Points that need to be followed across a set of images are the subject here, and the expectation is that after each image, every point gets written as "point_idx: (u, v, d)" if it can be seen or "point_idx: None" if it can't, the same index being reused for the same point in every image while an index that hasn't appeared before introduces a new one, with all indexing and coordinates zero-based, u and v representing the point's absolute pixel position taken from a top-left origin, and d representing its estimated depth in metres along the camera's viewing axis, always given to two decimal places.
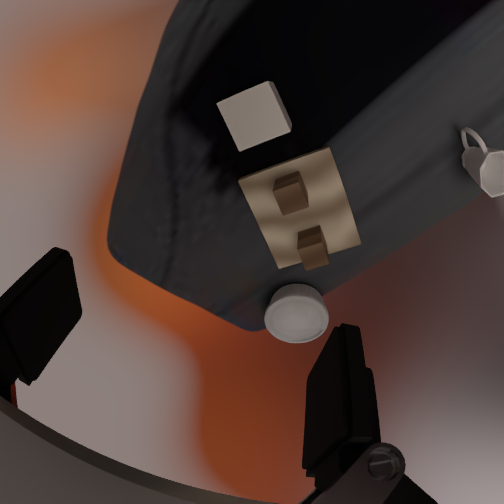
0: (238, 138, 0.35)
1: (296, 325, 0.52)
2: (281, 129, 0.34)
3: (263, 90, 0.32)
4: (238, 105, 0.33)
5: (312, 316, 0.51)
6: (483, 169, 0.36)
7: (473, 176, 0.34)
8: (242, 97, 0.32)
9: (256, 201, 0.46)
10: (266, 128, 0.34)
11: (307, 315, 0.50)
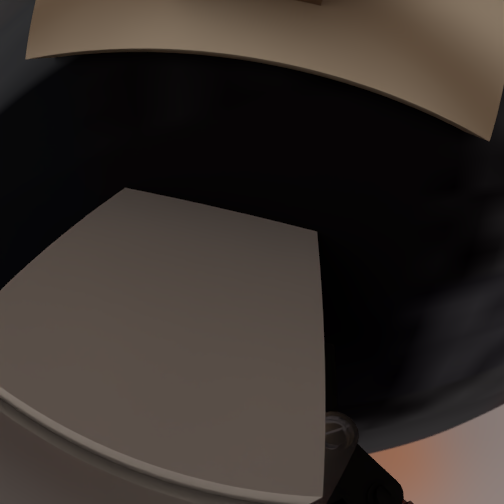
0: None
1: None
2: None
3: None
4: None
5: None
6: None
7: None
8: None
9: (480, 0, 0.04)
10: None
11: None
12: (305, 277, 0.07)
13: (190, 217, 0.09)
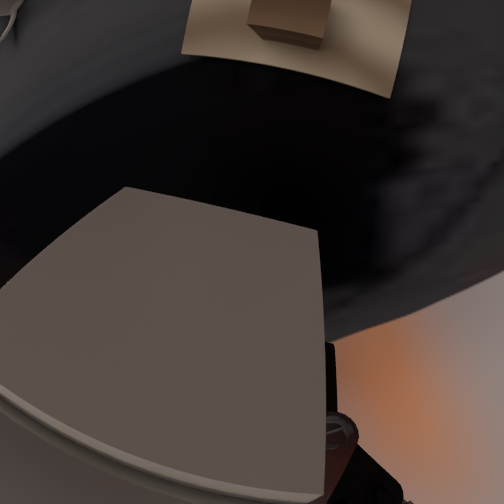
0: None
1: None
2: None
3: None
4: None
5: None
6: None
7: None
8: None
9: (385, 40, 0.14)
10: None
11: None
12: (305, 275, 0.07)
13: (190, 216, 0.09)
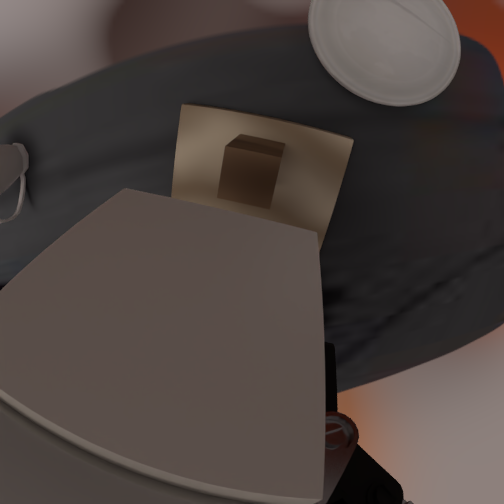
0: None
1: (397, 22, 0.14)
2: None
3: None
4: None
5: (349, 18, 0.15)
6: None
7: (3, 167, 0.24)
8: None
9: None
10: None
11: (358, 29, 0.15)
12: (305, 278, 0.07)
13: (189, 218, 0.09)
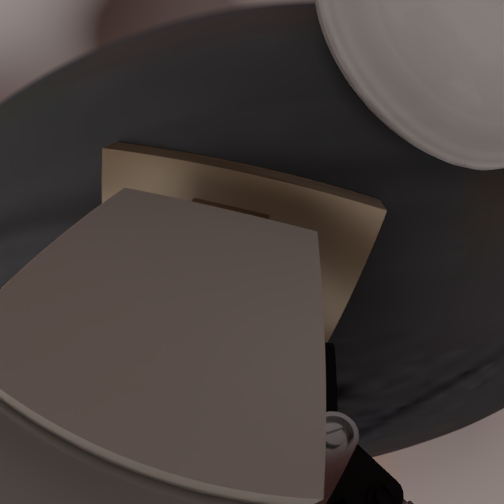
0: None
1: (485, 5, 0.05)
2: None
3: None
4: None
5: None
6: None
7: None
8: None
9: None
10: None
11: (419, 7, 0.06)
12: (305, 277, 0.07)
13: (189, 217, 0.09)
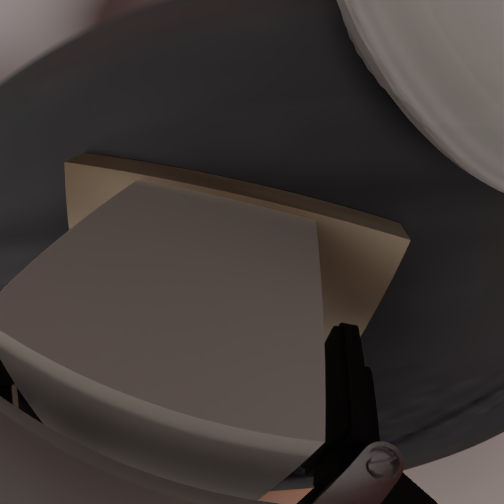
0: (263, 465, 0.05)
1: None
2: (11, 353, 0.04)
3: None
4: None
5: None
6: None
7: None
8: None
9: None
10: (83, 407, 0.05)
11: None
12: (305, 258, 0.08)
13: (200, 206, 0.10)
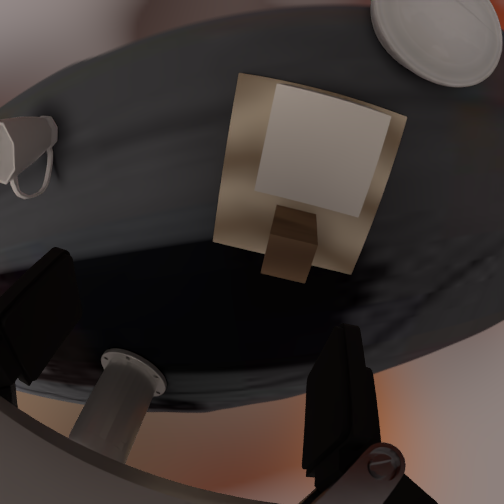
0: (374, 136, 0.15)
1: (449, 10, 0.13)
2: (289, 97, 0.15)
3: (272, 181, 0.18)
4: (329, 187, 0.18)
5: (409, 3, 0.13)
6: None
7: (32, 138, 0.23)
8: (313, 194, 0.18)
9: (353, 238, 0.27)
10: (315, 117, 0.16)
11: (417, 13, 0.14)
12: None
13: (320, 92, 0.20)
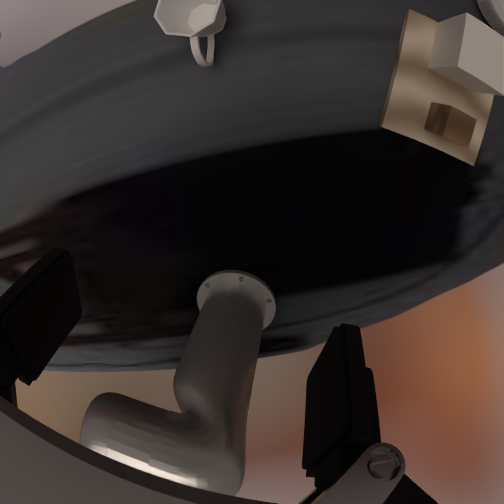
0: None
1: None
2: (472, 21, 0.16)
3: (466, 63, 0.19)
4: (492, 74, 0.19)
5: None
6: (197, 6, 0.26)
7: (223, 9, 0.24)
8: (485, 76, 0.19)
9: (475, 135, 0.29)
10: (484, 35, 0.17)
11: None
12: None
13: None
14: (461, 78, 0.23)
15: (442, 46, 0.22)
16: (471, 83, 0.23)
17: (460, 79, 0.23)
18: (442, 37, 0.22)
